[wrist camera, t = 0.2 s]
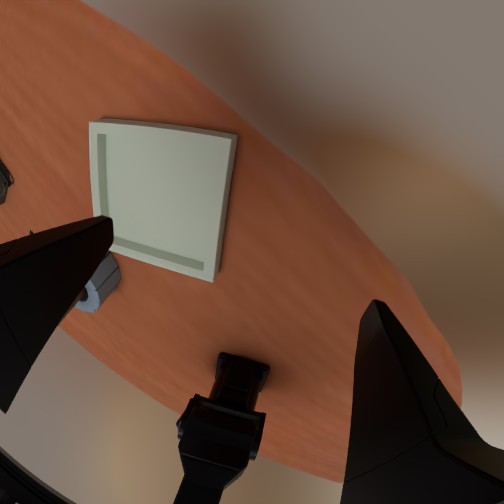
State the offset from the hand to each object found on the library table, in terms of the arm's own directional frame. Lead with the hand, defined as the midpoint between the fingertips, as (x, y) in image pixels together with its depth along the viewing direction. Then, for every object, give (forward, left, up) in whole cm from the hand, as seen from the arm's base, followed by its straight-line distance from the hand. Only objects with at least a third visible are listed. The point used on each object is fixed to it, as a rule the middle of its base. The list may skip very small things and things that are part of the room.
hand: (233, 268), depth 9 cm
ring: (-17, +19, -15) cm, 29 cm away
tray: (-6, +10, -15) cm, 19 cm away
